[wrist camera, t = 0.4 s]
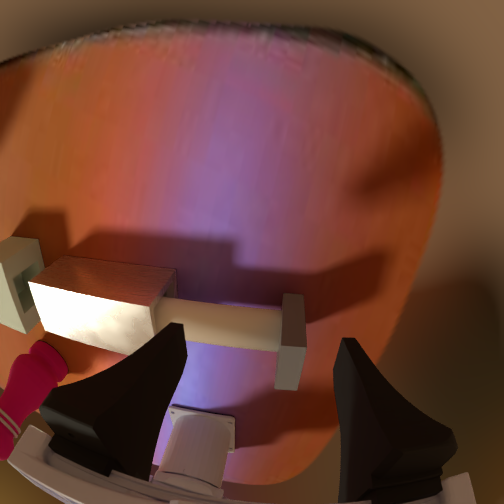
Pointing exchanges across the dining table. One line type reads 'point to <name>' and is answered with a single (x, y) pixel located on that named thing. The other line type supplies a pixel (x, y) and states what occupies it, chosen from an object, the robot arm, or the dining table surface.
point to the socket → (19, 282)
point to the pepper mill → (27, 390)
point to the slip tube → (245, 330)
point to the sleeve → (102, 301)
